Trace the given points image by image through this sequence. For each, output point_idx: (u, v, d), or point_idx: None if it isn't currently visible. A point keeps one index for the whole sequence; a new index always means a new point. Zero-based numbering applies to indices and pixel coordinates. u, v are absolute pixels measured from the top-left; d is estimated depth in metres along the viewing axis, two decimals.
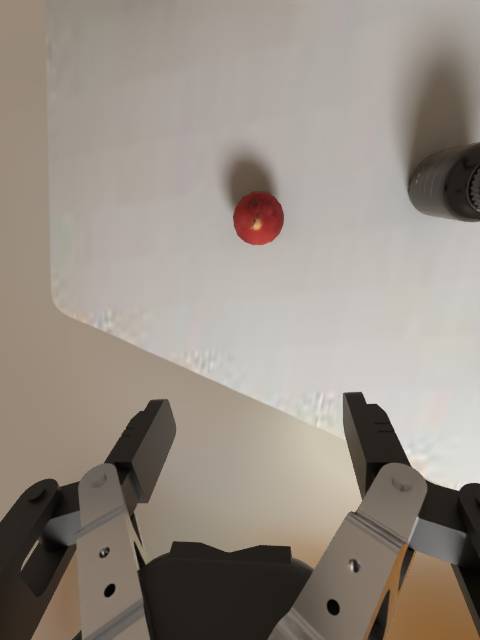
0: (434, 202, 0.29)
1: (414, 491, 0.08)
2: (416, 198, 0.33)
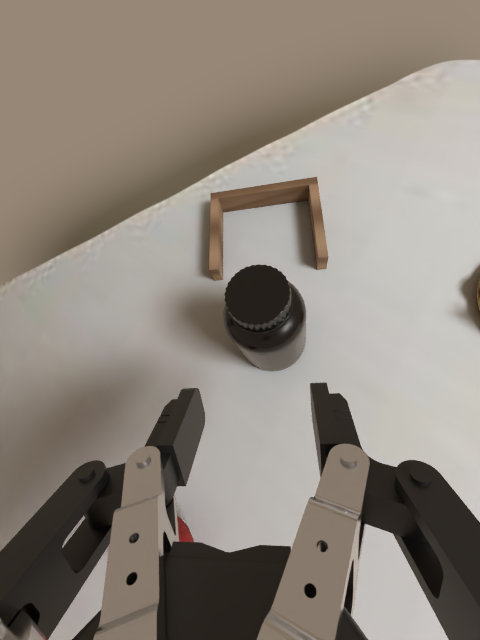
0: (261, 358, 0.25)
1: (357, 467, 0.09)
2: (265, 367, 0.29)
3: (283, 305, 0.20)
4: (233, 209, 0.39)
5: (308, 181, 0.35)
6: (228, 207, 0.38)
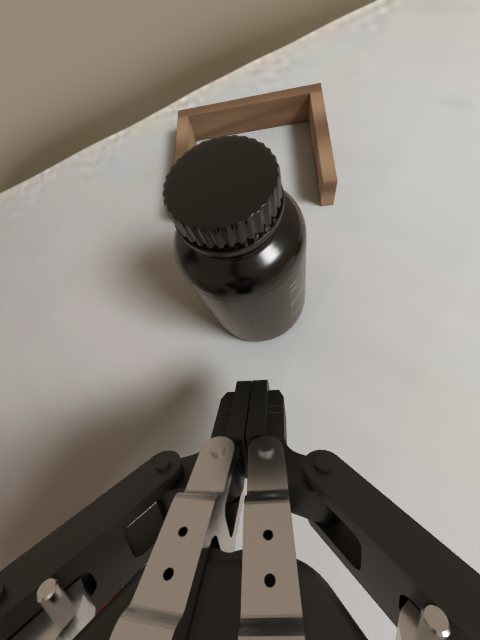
0: (235, 311, 0.16)
1: (271, 456, 0.10)
2: (244, 333, 0.19)
3: (266, 194, 0.11)
4: (209, 136, 0.29)
5: (308, 89, 0.26)
6: (203, 132, 0.29)
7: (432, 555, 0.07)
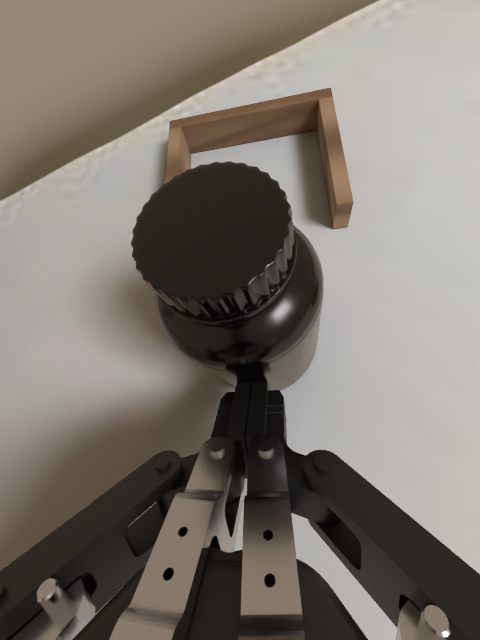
0: (232, 376, 0.12)
1: (271, 456, 0.10)
2: None
3: (273, 248, 0.08)
4: (205, 148, 0.26)
5: (316, 95, 0.23)
6: (198, 144, 0.26)
7: (432, 555, 0.07)
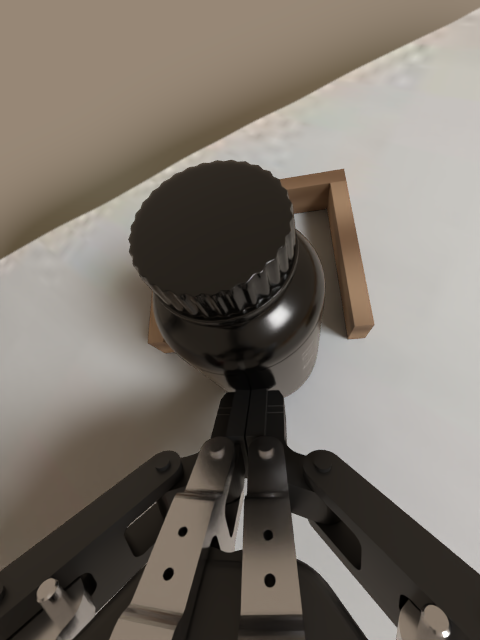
0: (230, 382, 0.12)
1: (271, 456, 0.10)
2: None
3: (274, 245, 0.07)
4: None
5: (328, 177, 0.20)
6: None
7: (433, 555, 0.07)
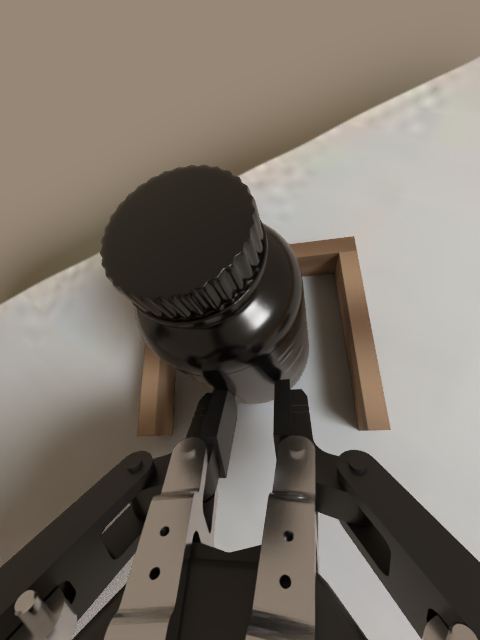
0: (207, 382, 0.12)
1: (303, 457, 0.10)
2: None
3: (231, 251, 0.08)
4: None
5: (336, 245, 0.18)
6: None
7: (469, 575, 0.06)
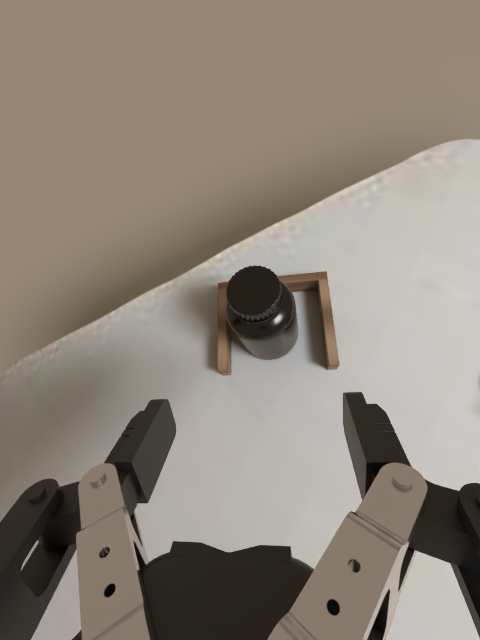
0: (251, 344, 0.29)
1: (414, 491, 0.08)
2: (255, 353, 0.33)
3: (271, 303, 0.24)
4: None
5: (317, 276, 0.35)
6: None
7: None
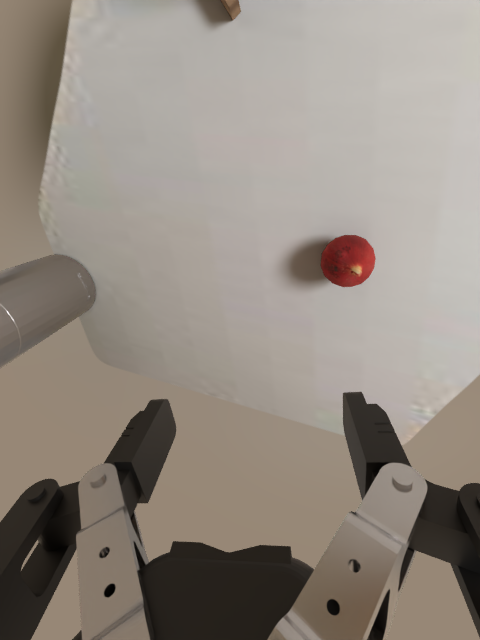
0: None
1: (414, 491, 0.08)
2: None
3: None
4: None
5: None
6: None
7: None
